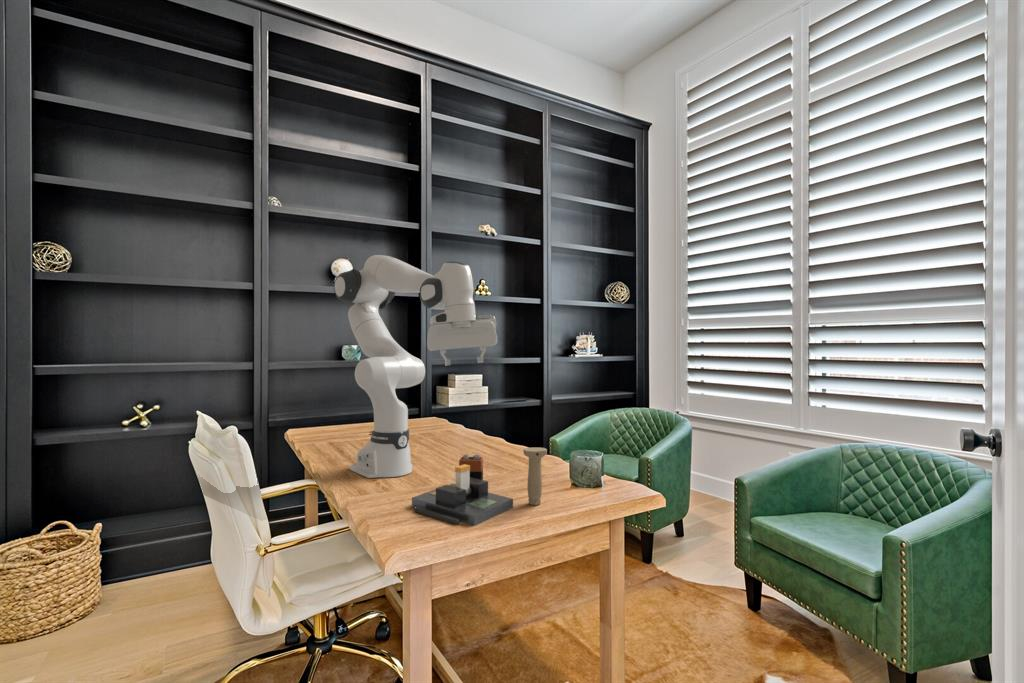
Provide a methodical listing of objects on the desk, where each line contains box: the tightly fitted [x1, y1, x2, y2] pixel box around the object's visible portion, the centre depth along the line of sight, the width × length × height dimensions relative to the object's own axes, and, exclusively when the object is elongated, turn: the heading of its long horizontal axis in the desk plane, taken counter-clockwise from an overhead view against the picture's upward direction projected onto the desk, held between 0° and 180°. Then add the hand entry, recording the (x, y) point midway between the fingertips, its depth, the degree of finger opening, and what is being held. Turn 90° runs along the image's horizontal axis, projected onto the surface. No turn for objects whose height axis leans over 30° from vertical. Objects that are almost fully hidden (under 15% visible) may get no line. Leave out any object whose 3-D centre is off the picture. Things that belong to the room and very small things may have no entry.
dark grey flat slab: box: [413, 507, 460, 525], centre depth 132 cm, size 15×21×1 cm
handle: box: [523, 446, 548, 506], centre depth 135 cm, size 5×6×15 cm
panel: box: [411, 477, 514, 526], centre depth 132 cm, size 22×16×6 cm
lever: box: [454, 464, 471, 496], centre depth 132 cm, size 2×4×8 cm, turn 144°
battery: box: [458, 454, 484, 480], centre depth 149 cm, size 4×7×10 cm, turn 86°
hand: (464, 364), depth 142 cm, fingers open, 8 cm apart
